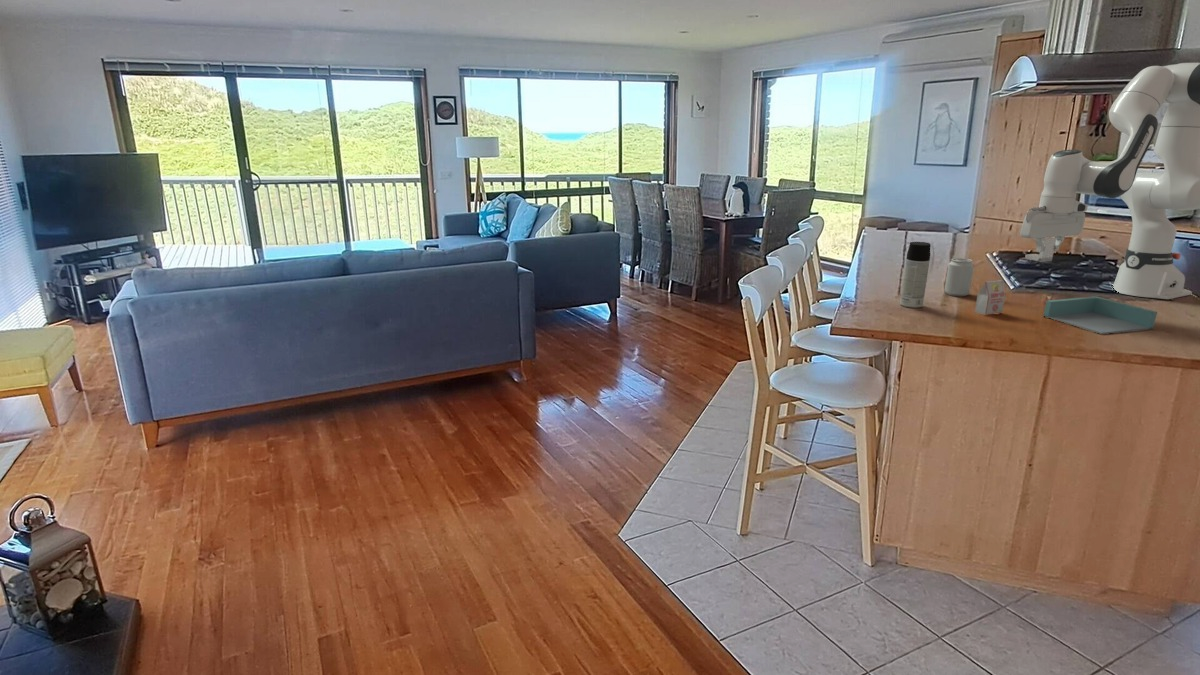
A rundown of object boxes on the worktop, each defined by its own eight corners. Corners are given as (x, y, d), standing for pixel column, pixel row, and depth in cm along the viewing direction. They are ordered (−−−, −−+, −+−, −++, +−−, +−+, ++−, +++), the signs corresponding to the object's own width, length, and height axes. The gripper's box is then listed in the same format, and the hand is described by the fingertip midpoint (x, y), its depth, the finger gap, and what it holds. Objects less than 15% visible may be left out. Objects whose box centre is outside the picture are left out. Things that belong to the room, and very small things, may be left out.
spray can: (922, 304, 209) (931, 242, 202) (923, 309, 203) (932, 245, 197) (900, 302, 211) (908, 240, 205) (899, 307, 205) (908, 244, 199)
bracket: (1051, 260, 202) (1056, 238, 200) (1041, 261, 201) (1045, 239, 199) (1034, 257, 207) (1039, 235, 205) (1024, 258, 206) (1029, 236, 204)
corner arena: (1091, 312, 197) (1095, 296, 195) (1152, 329, 180) (1157, 311, 179) (1043, 317, 193) (1046, 300, 191) (1100, 334, 176) (1105, 317, 175)
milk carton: (974, 312, 198) (979, 280, 195) (991, 310, 200) (997, 278, 197) (984, 316, 195) (990, 283, 192) (1001, 313, 197) (1007, 281, 194)
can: (972, 297, 215) (978, 261, 212) (947, 296, 217) (953, 261, 213) (965, 292, 222) (970, 257, 219) (941, 291, 224) (946, 256, 220)
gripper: (1037, 208, 191) (1028, 255, 195) (1092, 205, 196) (1082, 250, 200) (1019, 206, 197) (1011, 251, 201) (1073, 203, 202) (1063, 247, 206)
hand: (1047, 251), depth 201 cm, fingers closed on bracket, 4 cm apart
